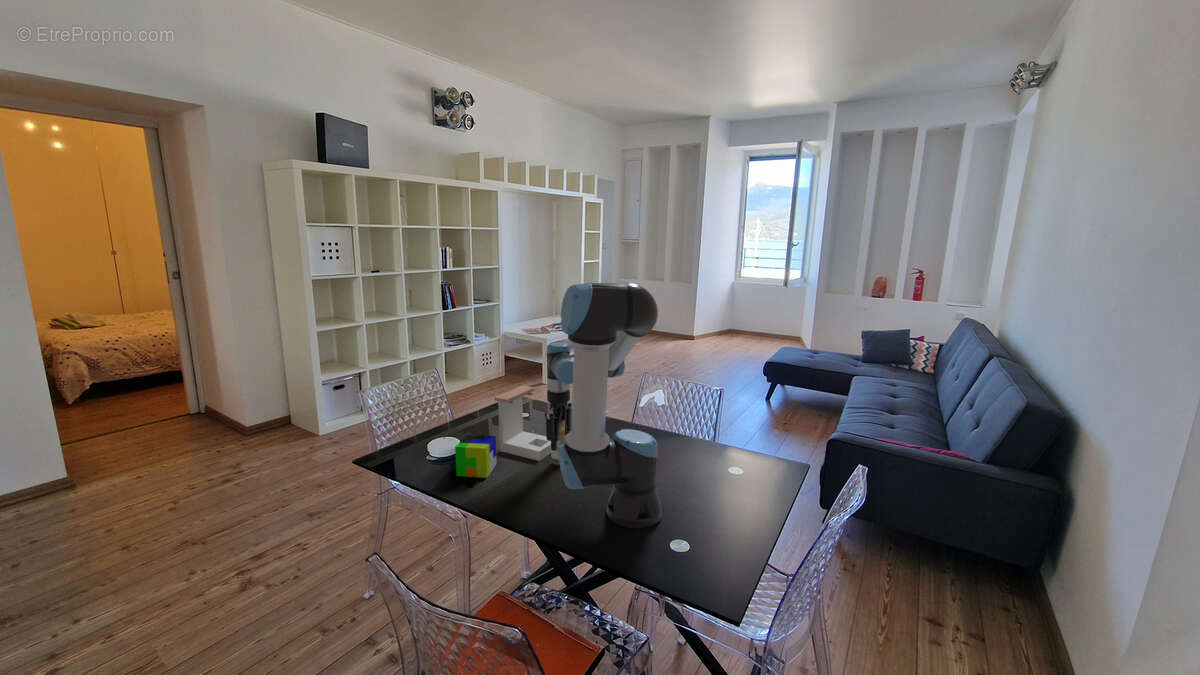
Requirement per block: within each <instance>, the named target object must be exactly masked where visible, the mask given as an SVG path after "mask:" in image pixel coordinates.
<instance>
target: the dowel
mask: <svg viewBox="0 0 1200 675" xmlns="http://www.w3.org/2000/svg"><path fill="white" fill-rule="evenodd" d="M558 440H559V445H562V444H565V420H561V421H560V422H559V432H558ZM552 464H553V465H555V466H560V463H559V459H554V458H552Z"/></svg>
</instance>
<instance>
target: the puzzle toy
mask: <svg viewBox="0 0 1200 675" xmlns="http://www.w3.org/2000/svg"><path fill="white" fill-rule="evenodd" d="M496 437H497V436H496V435H483V434H482V435H481V434H479V435H478V434H466V435H465V436H464V437H463V438H462V439H461V440H460V441H459V442H458V443H457V444H456V445H455V447H454V450H455V452H454V454H455V470H456V472H455V473H456V477H465V478H466V477H467V478H481V479H482V478H483V479H487V478H488V477H489V476H490V474H491V472H493V470H494V468H495V467H496V465H497V438H496Z"/></svg>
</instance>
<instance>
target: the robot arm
mask: <svg viewBox="0 0 1200 675" xmlns="http://www.w3.org/2000/svg"><path fill="white" fill-rule="evenodd" d="M658 315H659V310H658V304H657V302H656V300H655V298H654V296H653V295H652V294H651V293H650V292H649V290H647V289H646V288H645V287H644V286H641V285H640V284H637V283H633V282H585V283H576V284H572V285H570V286H568V288H567V289H566V291H565V292H564V295H563V298H562V303H561V309H560V326H561V329H562V332H563V333H564V334H565V335H567V340H568V341H569V342H570V344H572V345H573V355H571V349H570V348H571V347H570V345H569V343H567V342H563V341H562V342H559V341H558V342H550V343H549V344H547V345H546V354H545V355H546V389H547V391H546V400H547V402H548V403H549V404H550V405H549V411H547V412H545V413H544V417H545V426H546V427H545V429H546V432H545V433H546V437H547V440H548V441H551V459H553V458H554V459H559V463H560V465H559V467H560V473H561V476H562V479H563V483H564V485H565V486H566V487H567V489H570V490H579V489H581V490H585V489H588V488H589V489H590V488H594V487H595V488H596V487H602V486H611V485H613V488H612V490H611V493H610V495H609V499H608V502H607V504H606V514H607V517H608V519H609V520H610V521H612V522H613V523H614V524H616V525H618V526H620V527H623V528H628V529H638V530H639V529H645V528H650V527H652V526H654V525H656V524H658V522H660V521H661V519H662V513H663V512H662V510H663V508H662V503H661V500H660V496H659V494H658V491H657V478H658V472H657V471H658V456H659V453H658V442H657V440H656V438H654V436H653V435H651V434H649V433H647V432H644V431H641V430H637V429H632V428H631V429H629V428H625V429H620V430H618V431H616V432H615V433H614V435H613V438H610V436H609V435H608V434H607V433H606V432H605V431H606V414H607V413H606V412H607V393H608V378H609V379H611V378H618V377H621V376H623V375H624V373H625V368H626V367H625V366H626V365H625V364H626V363H625V359H626V357H627V356H628V355H629V354H630V352H632V349H634V347H635V346H636V345H637V343H638V342H639V341H640V339H641V338H644V337H646V336H647V335H649V334H650V333H651V331H653V329H654V328H655V326H656V323H657V321H658V317H659V316H658ZM571 385H572V394H571V390H570V387H571ZM571 395H572V397H571ZM571 398H572V402H570V400H571ZM561 420H565V444H562V445H559V440H558V432H559V422H560V421H561Z"/></svg>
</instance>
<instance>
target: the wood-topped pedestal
mask: <svg viewBox="0 0 1200 675" xmlns="http://www.w3.org/2000/svg"><path fill="white" fill-rule="evenodd" d="M534 391H535V387H532V386H528V385H527V386H526V385H520V386H518V387H515V388H513V389H511V390H508V391H506V392H503V393H501V394H499V395H496V396H495V397H494V401H495V402H498V404H497V405H498V425H499V426H498V427H499V428H498V430H499V432H498V433H499V443H500V442H502V443H503V442H505V441H507V440H509V439H511V438H512V437H514V436H516V435H518V434H519V433H521V432H523V431H524V418H523V417H524V415H523V414H524V411H523V410H524V409H523V408H524V406H523V402H524V401H523V397H524V396H526V395H528V396H530V395H531V394H532V392H534Z"/></svg>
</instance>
